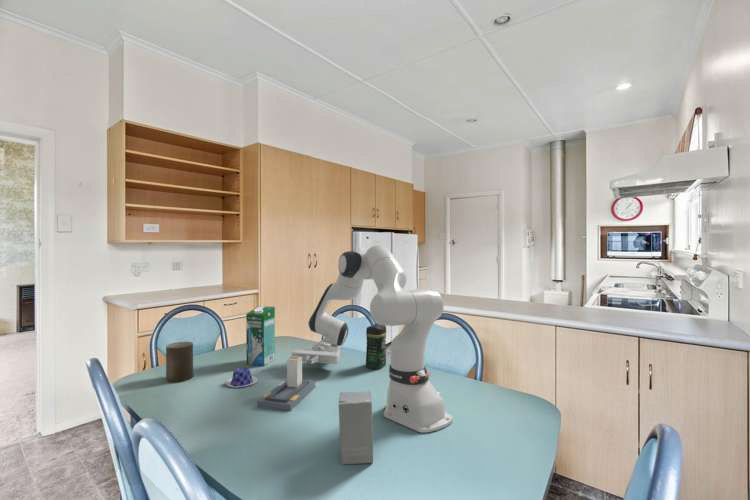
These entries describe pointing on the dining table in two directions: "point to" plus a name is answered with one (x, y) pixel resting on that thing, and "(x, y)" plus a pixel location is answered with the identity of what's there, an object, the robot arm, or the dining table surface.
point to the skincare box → (355, 428)
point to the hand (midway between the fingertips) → (308, 361)
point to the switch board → (286, 396)
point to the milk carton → (260, 335)
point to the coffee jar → (376, 346)
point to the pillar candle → (179, 361)
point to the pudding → (241, 378)
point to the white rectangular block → (294, 371)
